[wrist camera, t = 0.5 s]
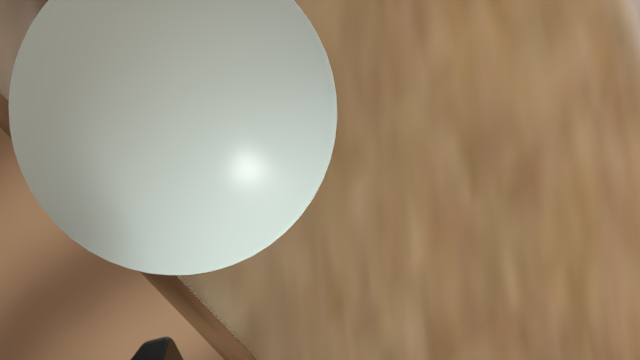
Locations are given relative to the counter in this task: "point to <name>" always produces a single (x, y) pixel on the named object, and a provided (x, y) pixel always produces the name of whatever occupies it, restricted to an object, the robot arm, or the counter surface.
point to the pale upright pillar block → (173, 126)
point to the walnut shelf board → (85, 291)
